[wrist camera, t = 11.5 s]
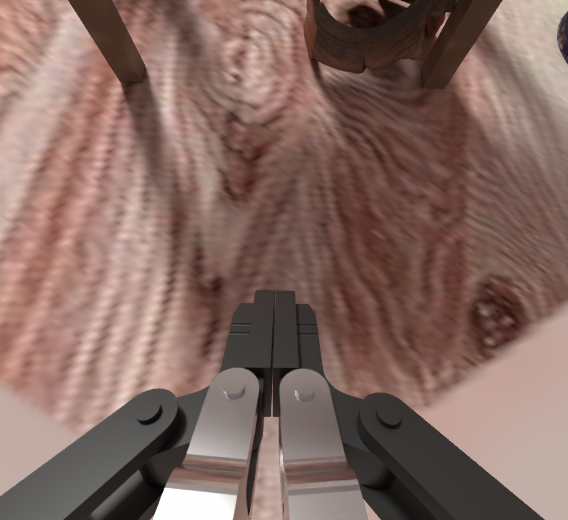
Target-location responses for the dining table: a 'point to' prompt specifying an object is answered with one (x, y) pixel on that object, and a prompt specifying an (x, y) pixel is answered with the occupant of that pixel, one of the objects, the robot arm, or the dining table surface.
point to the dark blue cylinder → (563, 36)
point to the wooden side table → (435, 72)
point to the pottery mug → (372, 36)
